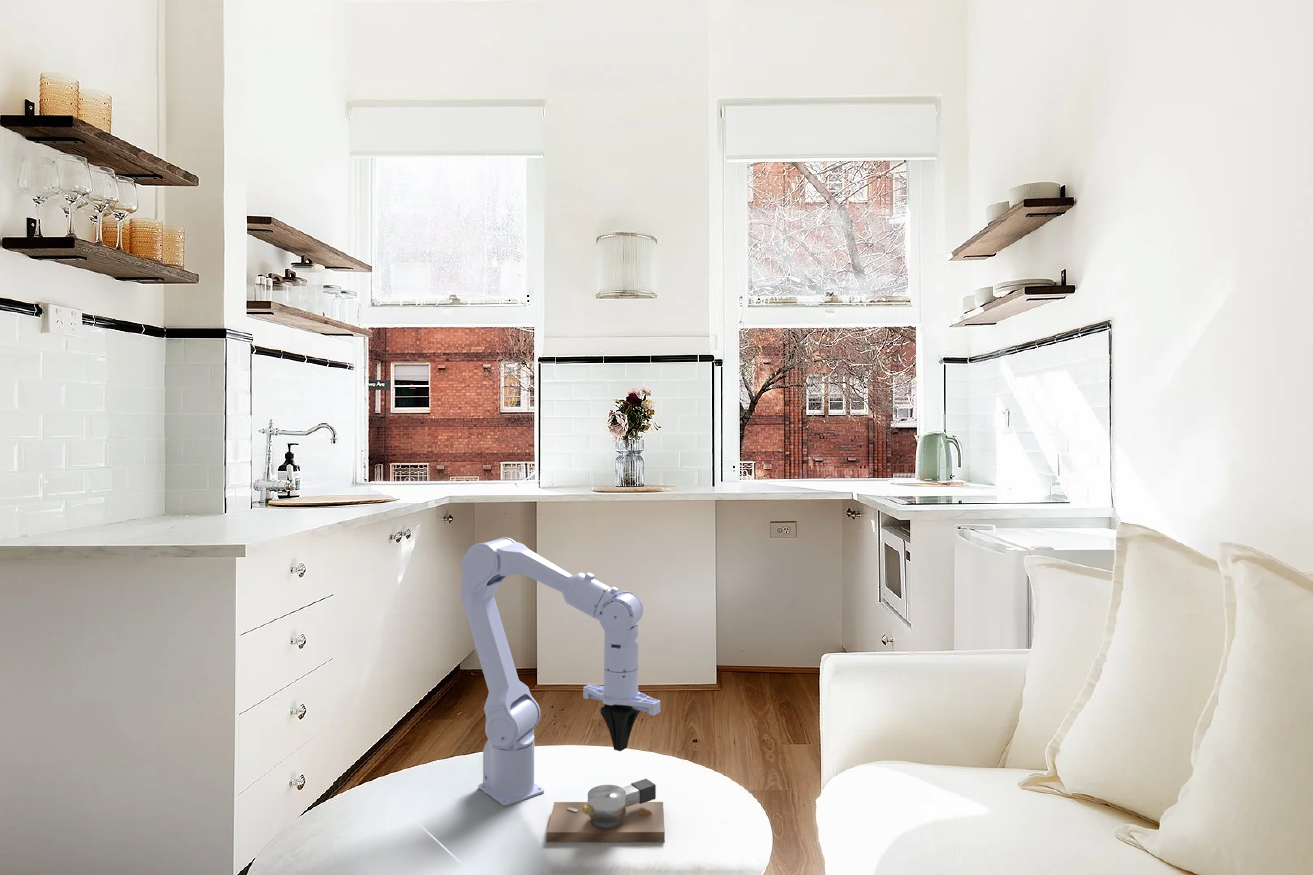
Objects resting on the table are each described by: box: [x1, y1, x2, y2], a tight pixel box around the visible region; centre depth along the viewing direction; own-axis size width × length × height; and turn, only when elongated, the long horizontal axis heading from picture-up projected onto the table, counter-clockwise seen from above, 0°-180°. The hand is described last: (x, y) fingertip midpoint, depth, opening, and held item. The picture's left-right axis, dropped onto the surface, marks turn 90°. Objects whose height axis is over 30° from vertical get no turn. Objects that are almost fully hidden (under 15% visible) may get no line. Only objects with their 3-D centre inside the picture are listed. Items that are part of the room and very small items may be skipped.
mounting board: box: [546, 801, 666, 843], centre depth 122 cm, size 10×18×2 cm, turn 91°
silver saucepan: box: [583, 778, 657, 822], centre depth 122 cm, size 13×6×3 cm, turn 126°
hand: (620, 748), depth 128 cm, fingers closed
